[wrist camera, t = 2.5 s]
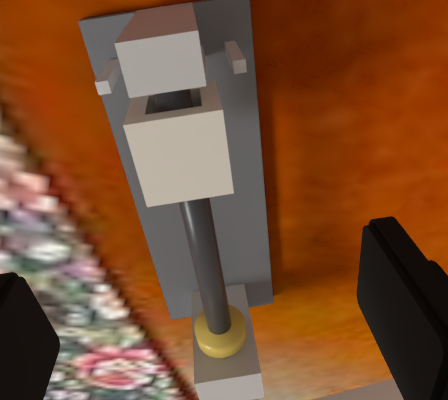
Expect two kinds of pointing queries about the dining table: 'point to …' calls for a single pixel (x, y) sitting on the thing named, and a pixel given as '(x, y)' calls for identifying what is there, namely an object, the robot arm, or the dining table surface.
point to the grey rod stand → (206, 207)
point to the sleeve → (180, 148)
